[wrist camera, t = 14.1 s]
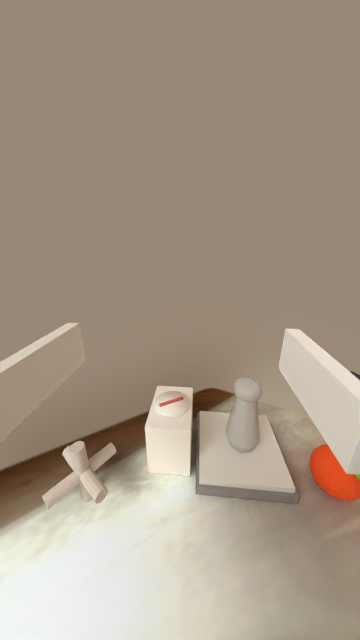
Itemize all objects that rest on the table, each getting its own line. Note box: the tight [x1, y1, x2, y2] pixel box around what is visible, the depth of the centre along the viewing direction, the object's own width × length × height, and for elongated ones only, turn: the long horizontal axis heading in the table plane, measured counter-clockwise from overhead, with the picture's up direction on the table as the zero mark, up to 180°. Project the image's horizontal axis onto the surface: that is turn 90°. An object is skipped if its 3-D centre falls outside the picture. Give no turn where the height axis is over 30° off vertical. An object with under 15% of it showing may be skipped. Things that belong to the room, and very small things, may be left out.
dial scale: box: [145, 386, 299, 504], centre depth 37 cm, size 23×15×11 cm, turn 85°
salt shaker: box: [226, 377, 262, 453], centre depth 35 cm, size 6×6×13 cm
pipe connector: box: [42, 441, 116, 509], centre depth 30 cm, size 10×10×10 cm
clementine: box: [310, 445, 360, 501], centre depth 31 cm, size 8×7×7 cm
